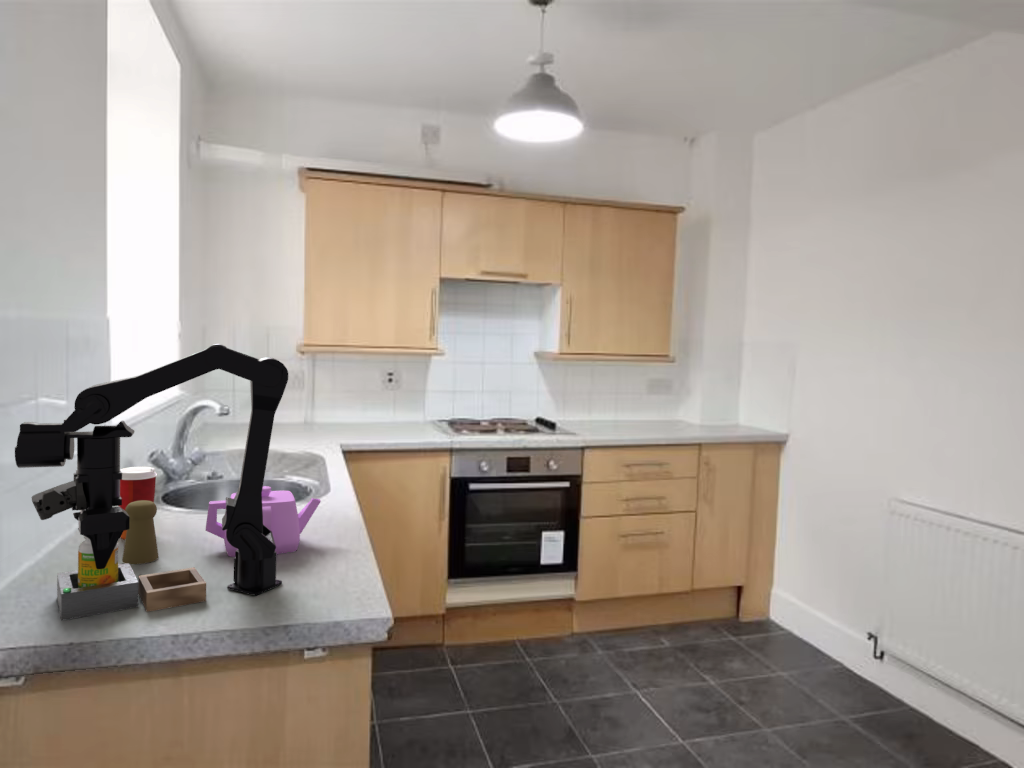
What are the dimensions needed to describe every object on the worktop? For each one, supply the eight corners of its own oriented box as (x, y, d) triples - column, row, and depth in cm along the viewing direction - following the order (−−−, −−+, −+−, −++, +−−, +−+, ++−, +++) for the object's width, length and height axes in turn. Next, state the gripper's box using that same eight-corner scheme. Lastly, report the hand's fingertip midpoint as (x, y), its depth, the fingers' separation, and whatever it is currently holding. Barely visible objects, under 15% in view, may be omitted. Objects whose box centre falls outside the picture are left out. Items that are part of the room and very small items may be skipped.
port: (128, 586, 112) (129, 560, 112) (138, 606, 104) (138, 579, 104) (57, 597, 106) (57, 570, 106) (61, 620, 98) (61, 591, 98)
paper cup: (159, 529, 144) (160, 465, 143) (152, 540, 137) (153, 473, 136) (118, 531, 141) (119, 466, 140) (109, 542, 134) (110, 473, 133)
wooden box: (194, 584, 115) (194, 567, 115) (205, 601, 108) (206, 583, 108) (138, 593, 110) (138, 575, 109) (146, 611, 103) (147, 592, 103)
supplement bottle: (74, 596, 102) (74, 533, 101) (81, 583, 107) (81, 524, 106) (115, 592, 104) (115, 531, 103) (120, 580, 109) (120, 521, 108)
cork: (117, 557, 126) (118, 500, 125) (152, 551, 130) (153, 496, 129) (127, 566, 121) (128, 507, 121) (163, 560, 126) (163, 502, 125)
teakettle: (197, 551, 132) (198, 490, 131) (257, 530, 148) (258, 475, 147) (267, 565, 126) (269, 501, 125) (322, 541, 142) (324, 484, 141)
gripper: (33, 458, 107) (33, 554, 108) (37, 482, 92) (38, 592, 93) (114, 454, 113) (113, 544, 114) (130, 475, 98) (129, 578, 100)
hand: (98, 563), depth 105 cm, fingers closed on supplement bottle, 5 cm apart
